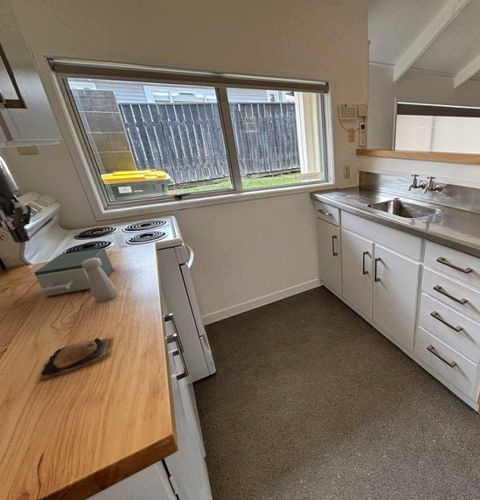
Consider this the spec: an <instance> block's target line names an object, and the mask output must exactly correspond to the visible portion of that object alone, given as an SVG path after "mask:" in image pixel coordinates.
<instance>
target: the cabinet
mask: <svg viewBox="0 0 480 500" xmlns="http://www.w3.org/2000/svg"><path fill="white" fill-rule="evenodd" d="M90 258H99V259H100V260H101V263H102V265H101V266H100V267H101V268H102V269H103V271H104V272H105V274H106V275H107V276H108V277H109V275H110V274H111V273H112V272H113V271H114V268H113V265H112V263H111V260H110V258H109V255H108V253H107V251H106V248H105V247H102V248H95V249H88V250H83V251H75V252H74V251H73V252H68V253H62V254H59V255H57V256H56V257H54V258H53V259H51V260H50V261H49V262H47V263H46V264H45V265H43V266H41V267H40V268H38V269H37V270H36V271H34V275H35V277H36V276H37V275H41V274H45V273H51V272H58V271H64V270H70V269H77V268H83V267H82V264H81V263H82V262H83V261H84V260H87V259H90ZM86 271H87V270H86ZM85 291H91V289H90V288H89V289H83V290H78V291H72V292H66V293H61V294H55V295H50V296H46V297H47V298H50V297H56V296H62V295H68V294H72V293H73V294H74V293H78V292H85Z"/></svg>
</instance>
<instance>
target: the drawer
mask: <svg viewBox="0 0 480 500" xmlns="http://www.w3.org/2000/svg"><path fill="white" fill-rule="evenodd" d="M35 278H36V280H37V281H38V283H39V285H40V287H41V288H40V293H41V294H42V295H43V294H44V295H45V296H46V297H47V296H50V295H55V294H61V293H66V292H72V291H78V290H83V289H89V288H90V284H89V278H88V273H87V271H86V269H83V268H77V269H70V270H64V271H58V272H51V273H45V274H41V275H37V276H36V275H35Z"/></svg>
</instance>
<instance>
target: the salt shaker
mask: <svg viewBox="0 0 480 500" xmlns="http://www.w3.org/2000/svg"><path fill="white" fill-rule="evenodd" d="M81 264H82V267H83V269H86V270H87V273H88V278H89V284H90V293H91V296H92V298H93V299H95V300H96V301H98V302H106V301H109V300H112V299H113V298H114V297H116V293H117V288H116V286H115V284H114V283H113V282H112V281H111V279H110V277H109V275H108V276H107V275H106V274H105V272H104V271H103V269H102V268H101V267H100V266H101V265H102V263H101V260H100V259H99V258H90V259H87V260H84V261H83V262H82V263H81Z"/></svg>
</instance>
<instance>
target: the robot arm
mask: <svg viewBox="0 0 480 500" xmlns="http://www.w3.org/2000/svg"><path fill="white" fill-rule="evenodd" d="M18 191H19V187H18V185H17V183H16V181H15V180H14V177H13V175H12V173H11V171H10V170H9V167H8V165H7V163H6V162H5V160H4V159H3V158H2V156H1V155H0V228H2V227H3V229H5V230H7V231H8V233H9V234H10V236H11V238H12V240H13V242H14V243H17V244H18V243H19V244H23V243H26V242H29V241H30V239H31V238H30V236H29V234H28V233H27V231H26V228H25V227H26V226H27V225H30V223H31V213H32V207H31V206H30V205H29V204H28V205H23V204H21V203H20V200H19V199H18V198H17V196H16V194H15V193H17V192H18Z"/></svg>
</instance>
